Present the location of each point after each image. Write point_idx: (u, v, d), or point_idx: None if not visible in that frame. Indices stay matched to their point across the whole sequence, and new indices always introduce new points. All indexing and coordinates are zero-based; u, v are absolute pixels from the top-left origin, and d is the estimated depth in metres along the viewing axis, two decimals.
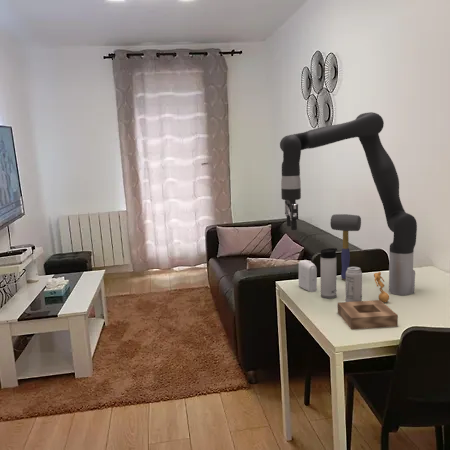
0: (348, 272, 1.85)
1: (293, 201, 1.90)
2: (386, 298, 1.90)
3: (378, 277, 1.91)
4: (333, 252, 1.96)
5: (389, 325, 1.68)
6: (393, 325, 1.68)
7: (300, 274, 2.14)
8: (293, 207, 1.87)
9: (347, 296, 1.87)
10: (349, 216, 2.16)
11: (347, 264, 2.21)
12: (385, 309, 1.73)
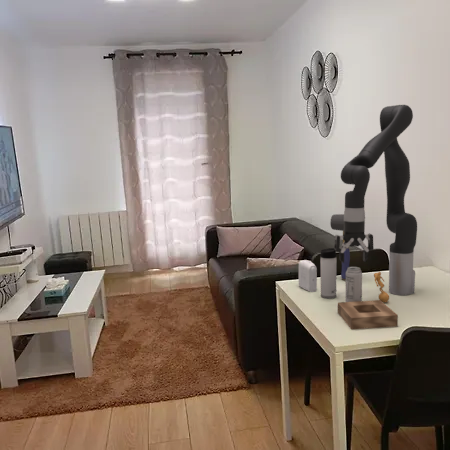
0: (348, 272, 1.85)
1: None
2: (386, 298, 1.90)
3: (378, 277, 1.91)
4: (333, 252, 1.96)
5: (389, 325, 1.68)
6: (393, 325, 1.68)
7: (300, 274, 2.14)
8: None
9: (347, 296, 1.87)
10: None
11: (347, 264, 2.21)
12: (385, 309, 1.73)
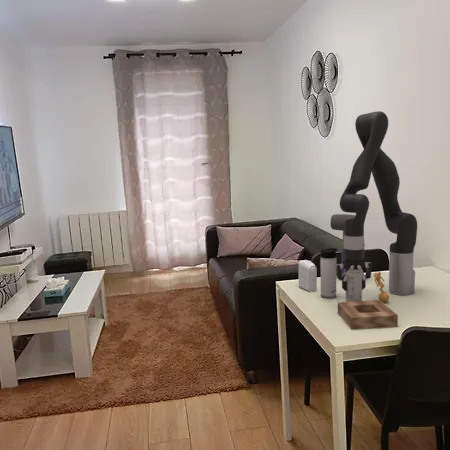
0: None
1: None
2: (386, 298, 1.90)
3: (378, 277, 1.91)
4: (333, 252, 1.96)
5: (389, 325, 1.68)
6: (393, 325, 1.68)
7: (300, 274, 2.14)
8: None
9: (347, 296, 1.87)
10: (349, 216, 2.16)
11: None
12: (385, 309, 1.73)
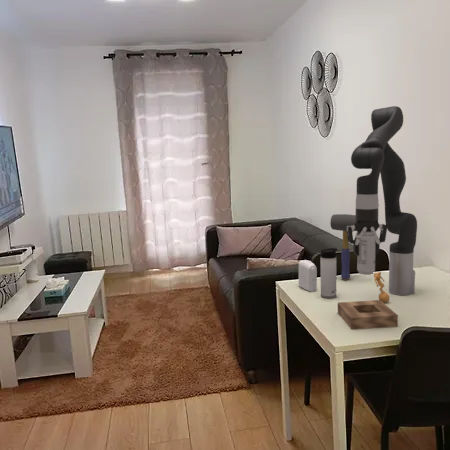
0: None
1: None
2: (386, 298, 1.90)
3: (378, 277, 1.91)
4: (333, 252, 1.96)
5: (389, 325, 1.68)
6: (393, 325, 1.68)
7: (300, 274, 2.14)
8: None
9: (359, 261, 1.71)
10: (349, 216, 2.16)
11: (347, 264, 2.21)
12: (385, 309, 1.73)
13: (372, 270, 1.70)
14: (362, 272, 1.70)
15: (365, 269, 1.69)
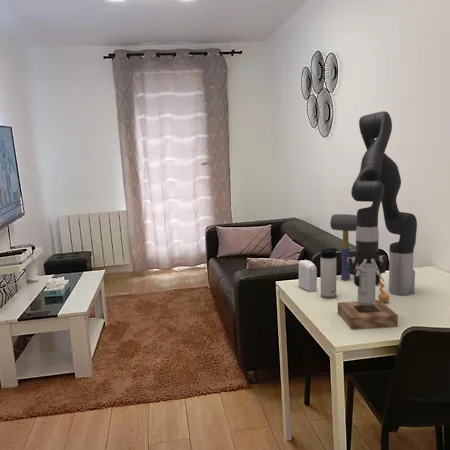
0: None
1: None
2: (386, 298, 1.90)
3: None
4: (333, 252, 1.96)
5: (389, 325, 1.68)
6: (393, 325, 1.68)
7: (300, 274, 2.14)
8: None
9: (359, 292, 1.72)
10: (349, 216, 2.16)
11: None
12: (385, 309, 1.73)
13: (372, 301, 1.72)
14: (362, 303, 1.72)
15: (366, 300, 1.71)
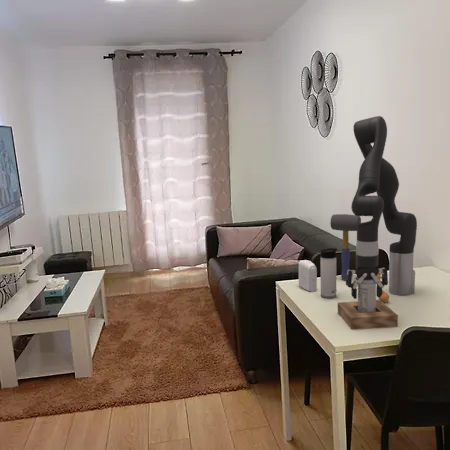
0: (361, 283, 1.72)
1: None
2: (386, 298, 1.90)
3: (378, 277, 1.91)
4: (333, 252, 1.96)
5: (389, 325, 1.68)
6: (393, 325, 1.68)
7: (300, 274, 2.14)
8: None
9: (360, 308, 1.73)
10: (349, 216, 2.16)
11: (347, 264, 2.21)
12: (385, 309, 1.73)
13: None
14: None
15: None
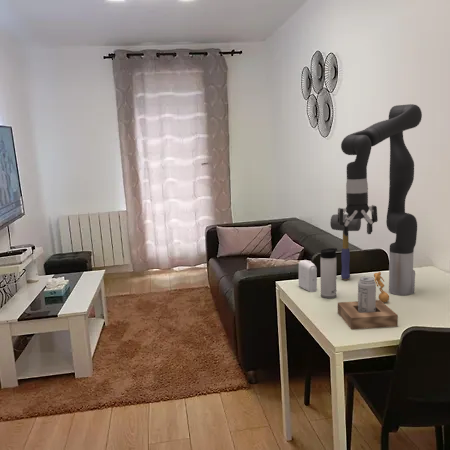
0: (361, 283, 1.72)
1: None
2: (386, 298, 1.90)
3: (378, 277, 1.91)
4: (333, 252, 1.96)
5: (389, 325, 1.68)
6: (393, 325, 1.68)
7: (300, 274, 2.14)
8: None
9: (360, 308, 1.73)
10: None
11: (347, 264, 2.21)
12: (385, 309, 1.73)
13: None
14: None
15: None
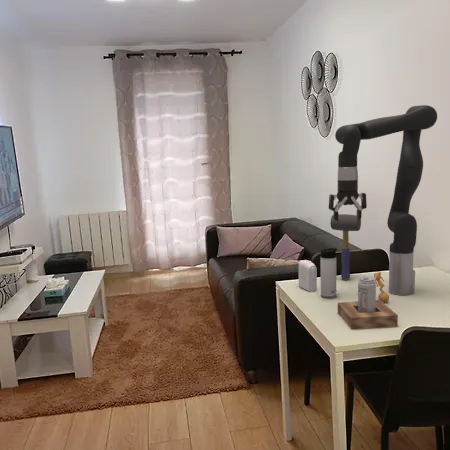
0: (361, 283, 1.72)
1: None
2: (386, 298, 1.90)
3: (378, 277, 1.91)
4: (333, 252, 1.96)
5: (389, 325, 1.68)
6: (393, 325, 1.68)
7: (300, 274, 2.14)
8: None
9: (360, 308, 1.73)
10: (349, 216, 2.16)
11: (347, 264, 2.21)
12: (385, 309, 1.73)
13: None
14: None
15: None
